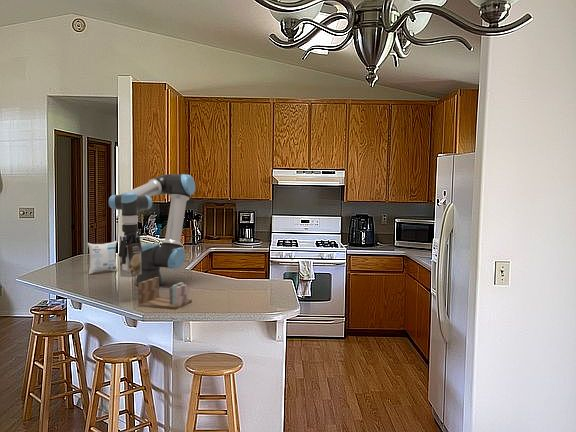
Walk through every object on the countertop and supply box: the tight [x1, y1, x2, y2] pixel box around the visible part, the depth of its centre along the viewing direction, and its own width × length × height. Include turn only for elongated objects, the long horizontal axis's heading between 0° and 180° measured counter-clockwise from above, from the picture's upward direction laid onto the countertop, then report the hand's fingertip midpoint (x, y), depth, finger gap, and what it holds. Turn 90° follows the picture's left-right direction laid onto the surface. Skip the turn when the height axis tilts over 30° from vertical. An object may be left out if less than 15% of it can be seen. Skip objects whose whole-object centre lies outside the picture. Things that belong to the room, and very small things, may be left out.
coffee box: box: [119, 243, 142, 278], centre depth 274 cm, size 9×6×16 cm
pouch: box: [86, 240, 118, 275], centre depth 347 cm, size 8×19×20 cm, turn 128°
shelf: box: [137, 277, 193, 310], centre depth 267 cm, size 16×20×11 cm
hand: (131, 268), depth 275 cm, fingers closed on coffee box, 9 cm apart
